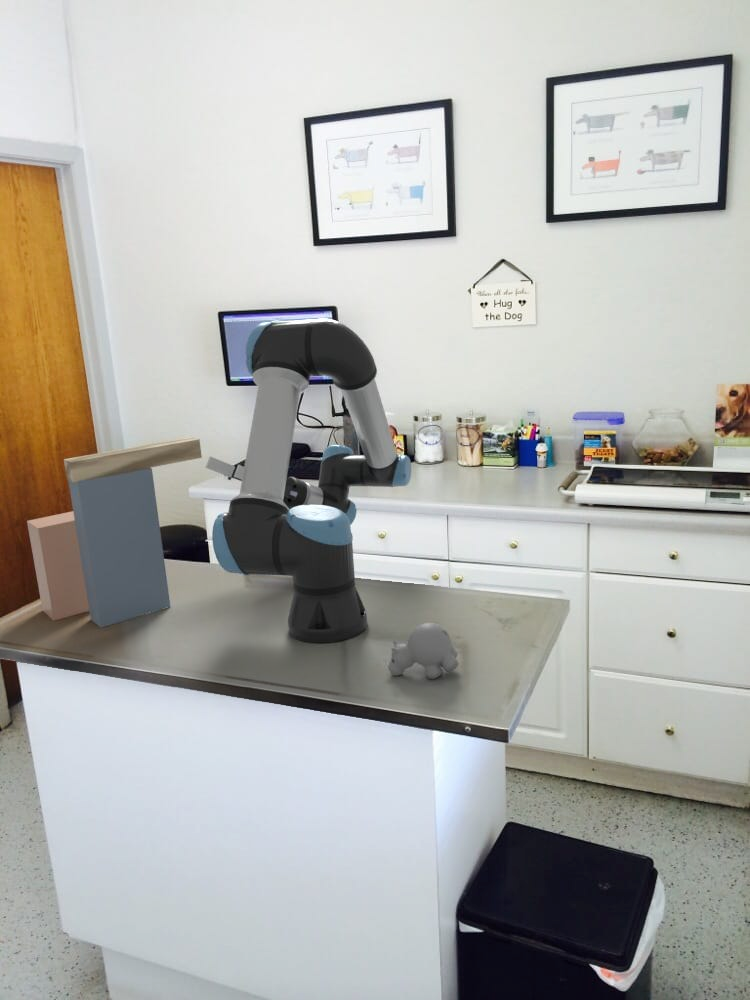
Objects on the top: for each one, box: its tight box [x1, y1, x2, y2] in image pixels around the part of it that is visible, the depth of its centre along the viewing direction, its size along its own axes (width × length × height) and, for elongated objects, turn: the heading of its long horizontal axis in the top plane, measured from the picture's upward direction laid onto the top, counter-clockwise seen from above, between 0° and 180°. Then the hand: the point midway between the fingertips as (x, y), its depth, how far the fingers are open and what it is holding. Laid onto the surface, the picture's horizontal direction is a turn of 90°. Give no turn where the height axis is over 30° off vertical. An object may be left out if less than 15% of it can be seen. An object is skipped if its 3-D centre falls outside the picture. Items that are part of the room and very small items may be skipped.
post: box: [67, 467, 171, 628], centre depth 176 cm, size 6×15×30 cm, turn 127°
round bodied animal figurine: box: [383, 622, 459, 680], centre depth 143 cm, size 7×12×8 cm, turn 84°
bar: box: [63, 436, 203, 482], centre depth 174 cm, size 4×27×4 cm, turn 127°
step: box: [26, 510, 89, 622], centre depth 182 cm, size 8×10×20 cm
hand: (221, 466), depth 186 cm, fingers open, 13 cm apart
